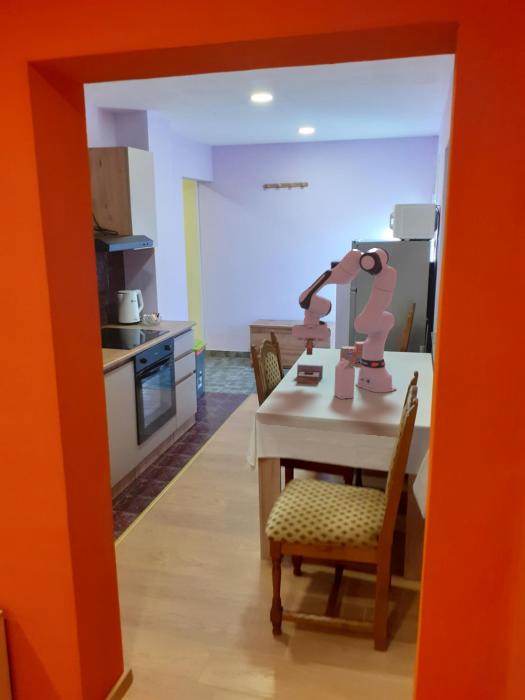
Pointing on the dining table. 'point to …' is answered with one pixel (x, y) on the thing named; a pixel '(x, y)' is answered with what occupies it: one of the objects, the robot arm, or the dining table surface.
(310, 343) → the dowel
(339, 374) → the milk carton
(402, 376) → the dining table surface
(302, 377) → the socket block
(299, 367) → the backstop wall
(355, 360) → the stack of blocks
